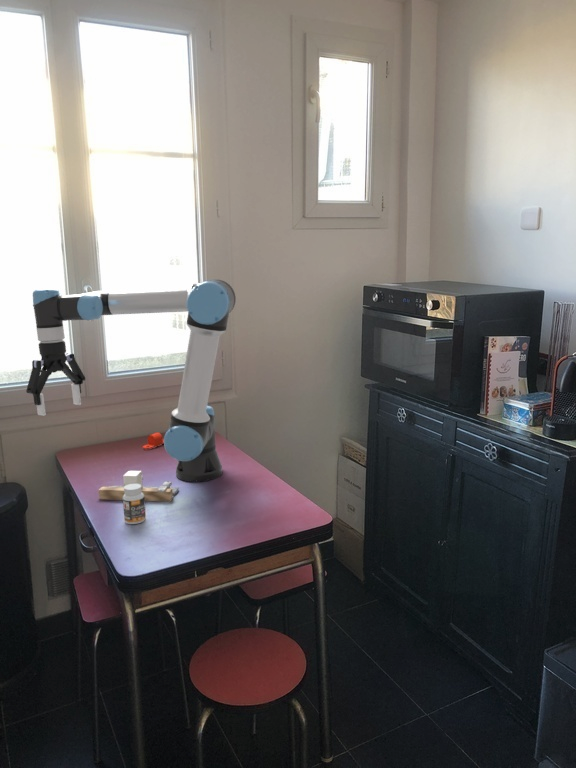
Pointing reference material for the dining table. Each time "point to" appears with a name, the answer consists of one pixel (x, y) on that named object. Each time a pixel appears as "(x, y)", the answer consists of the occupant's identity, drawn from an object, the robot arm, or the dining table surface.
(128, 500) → the pill bottle
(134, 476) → the block
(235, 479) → the dining table surface
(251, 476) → the dining table surface
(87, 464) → the dining table surface
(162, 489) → the fixed leg
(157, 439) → the bracket
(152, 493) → the beam
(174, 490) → the hole plate
